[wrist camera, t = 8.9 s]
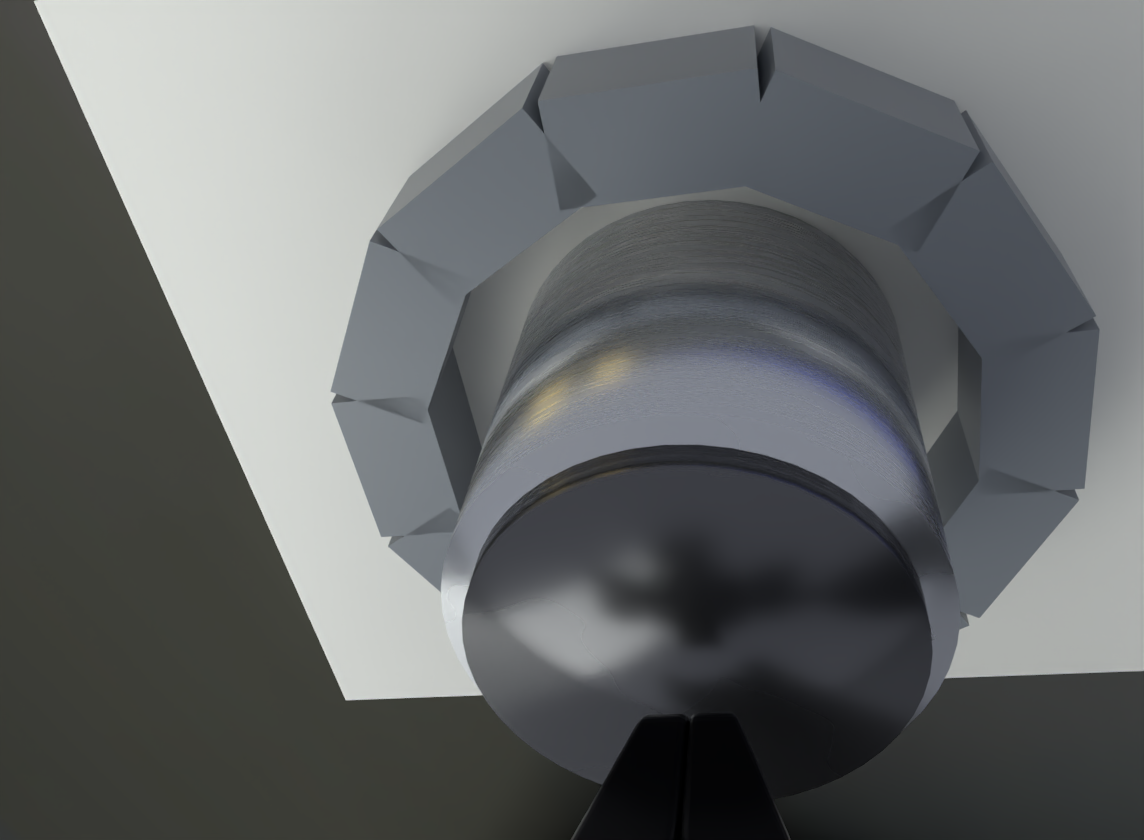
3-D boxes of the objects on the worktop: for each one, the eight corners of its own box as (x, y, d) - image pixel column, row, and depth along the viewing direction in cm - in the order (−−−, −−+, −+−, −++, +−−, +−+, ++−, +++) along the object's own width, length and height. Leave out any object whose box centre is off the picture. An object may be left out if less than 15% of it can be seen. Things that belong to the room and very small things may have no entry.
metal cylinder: (902, 177, 12) (977, 423, 8) (902, 514, 15) (960, 824, 11) (484, 222, 13) (371, 461, 9) (555, 531, 16) (490, 820, 12)
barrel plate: (1350, -263, 10) (1501, -244, 8) (1192, 620, 17) (1254, 749, 15) (76, -20, 13) (-41, 38, 11) (361, 657, 20) (319, 771, 18)
